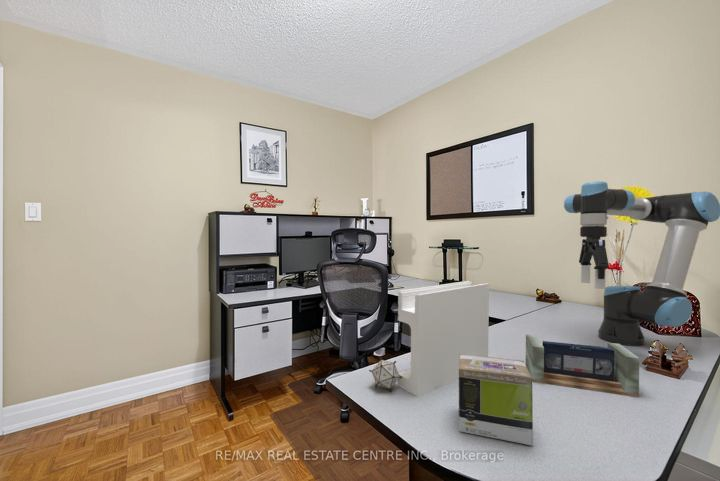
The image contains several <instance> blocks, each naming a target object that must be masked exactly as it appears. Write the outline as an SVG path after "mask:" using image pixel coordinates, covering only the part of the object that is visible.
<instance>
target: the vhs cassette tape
mask: <svg viewBox="0 0 720 481" xmlns="http://www.w3.org/2000/svg"><path fill="white" fill-rule="evenodd" d="M542 345H543V347H544V372H546V373H553V374H561V375H568V376H575V377H583V378H590V379H598V380H605V381H612V382H614V362H615V360H614V359H613V358H615V352H614V351H615V350H613V349H612V348H608V346H607V347H606V346H605V347H604V346H598V345H586V344H580V343H579V344H576V343H575V344H574V343H569V342H568V343H566V342H557V341H546V340H542Z"/></svg>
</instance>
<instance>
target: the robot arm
mask: <svg viewBox="0 0 720 481" xmlns="http://www.w3.org/2000/svg"><path fill="white" fill-rule="evenodd" d="M563 207H564V210H565V211H566V212H567V213H569V214H580V216H579V217H580V222H579V225H580V228H579V230H580V231H579V233H580V234H579V235H580V237H581V238H583V239H582V240H581V241H582V242H581V250H580V253H579V254H580V255H579V260H578V263H579V264H580V265H581V266H580V283H585V284H591V266H592V262H591V260H592V258H593V261H594V264H595V266H594V267H593V269H594V289H598V290H599V289H601V290H604V293H603V320H602V322H601V324H600V326H599V328H598V331H597V332H598V333H597V334H598V335H597V336H598V338H599V339H602V340H604V341H606V342H608V343H616V344H620V345H622V346H624V345H625V346H631V347H632V346H635V347H637V346H638V347H639V346H644V345H645V336H644V334H643V331H642V328H641V326H640V321H642V322H647V323H651V324H654V325H658V326H662V327H669V328H679V327H681V326H683V325H684V324H686V323H687V322H688V321H689V319H690V317H691V316H692V313H693V308H692V307H693V304H692V302H691V301H690V299H688V298H687V297H688V295H687V293H686V292H685V290H684V286H685V282H686V279H687V277H688V276H687V275H688V273H689V269H690V266H691V262H692V258H693V255H694V252H695V249H696V245H697V242H698V238H699V235H700V232H702V231H704V230H707V228H708V225H709V223H713V222H715V221H717V220H718V219H719V218H720V201H719V200H718V198H717V196H716V195H715V194H713V193H712V192H709V191H692V192H687V193H685V192H684V193H675V194H666V195H665V194H662V195H656V196H650V197H642V196H641V197H636V196H635V194H634V192H632V191H631V190H628V189H623V188H620V189H619V188H618V189H616V188H609V186H608V183H607V182H606V181H600V180H599V181H598V180H597V181H589V182H584V183H583V184H582V185H581V190H580V193H576V194H571V195H568V196H566V197H565V199H564V201H563ZM609 216H618V217H628V218H630V219H632V220H636V221H645V222H649V223H650V222H651V223H659V224H664V225H665V226H666V227H668V229H667V232H666V235H665V239H664V242H663V245H662V249H661V252H660V255H659V259H658V261H657V266H656V268H655V272H654V275H653V279H652V282H651V283H649V284H646V285H645V287H644V289H643V290H641V287H640V286H637V285H635V286H634V285H632V286H631V285H612V286H611V285H610V286H606V270H607V269H609V267H610V265H609V259H608V254H607V249H606V240H605V239H601V238H606V237H607V236H608V233H607V231H608V227H607V226H605V225H607V223H608V219H609Z"/></svg>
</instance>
